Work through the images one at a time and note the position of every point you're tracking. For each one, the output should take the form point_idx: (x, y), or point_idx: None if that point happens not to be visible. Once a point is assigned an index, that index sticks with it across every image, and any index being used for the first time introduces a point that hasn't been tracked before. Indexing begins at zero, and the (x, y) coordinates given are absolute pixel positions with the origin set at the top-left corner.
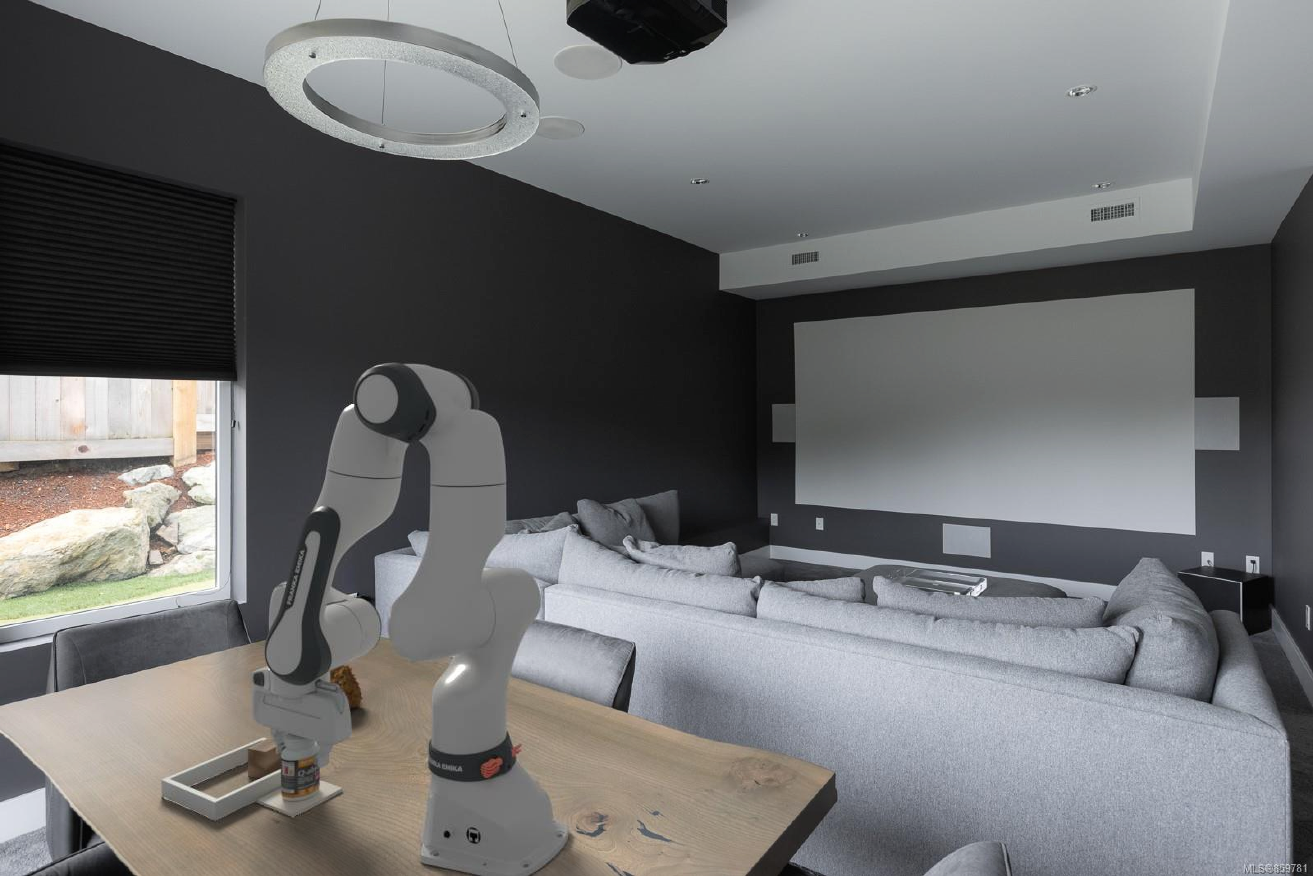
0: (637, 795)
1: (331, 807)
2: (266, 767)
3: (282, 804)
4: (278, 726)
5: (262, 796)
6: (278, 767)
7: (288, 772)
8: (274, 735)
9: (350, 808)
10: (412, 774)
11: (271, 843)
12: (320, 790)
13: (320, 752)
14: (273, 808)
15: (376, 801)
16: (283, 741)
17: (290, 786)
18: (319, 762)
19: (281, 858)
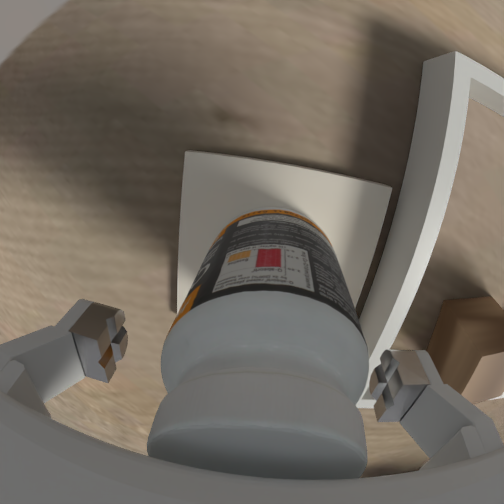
0: None
1: (136, 242)
2: (459, 323)
3: (276, 187)
4: (437, 501)
5: (396, 219)
6: (437, 346)
7: (254, 253)
8: (466, 420)
9: (92, 254)
10: (114, 392)
11: (142, 31)
12: None
13: (25, 341)
14: (299, 166)
15: (74, 296)
16: (413, 411)
17: (250, 226)
18: (68, 311)
19: (74, 17)
